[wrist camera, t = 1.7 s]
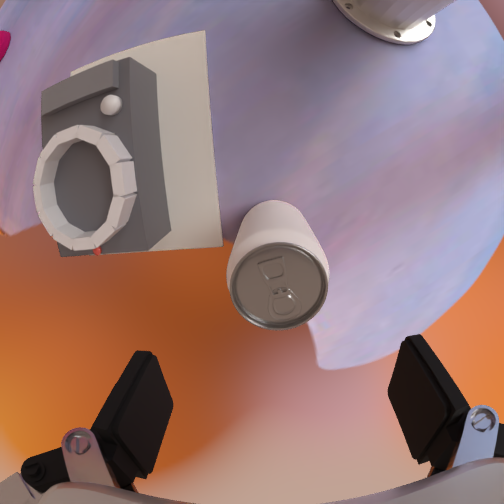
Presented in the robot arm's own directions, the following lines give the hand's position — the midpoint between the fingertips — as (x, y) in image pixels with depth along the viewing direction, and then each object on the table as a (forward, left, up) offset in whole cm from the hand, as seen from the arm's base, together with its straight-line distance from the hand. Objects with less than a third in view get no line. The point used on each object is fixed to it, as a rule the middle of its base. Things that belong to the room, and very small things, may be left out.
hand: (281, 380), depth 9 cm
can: (0, 0, -19) cm, 19 cm away
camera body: (-9, -15, -18) cm, 25 cm away
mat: (-10, -13, -19) cm, 25 cm away
